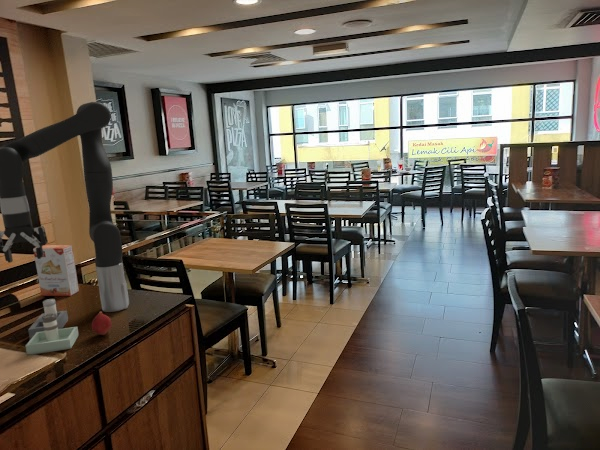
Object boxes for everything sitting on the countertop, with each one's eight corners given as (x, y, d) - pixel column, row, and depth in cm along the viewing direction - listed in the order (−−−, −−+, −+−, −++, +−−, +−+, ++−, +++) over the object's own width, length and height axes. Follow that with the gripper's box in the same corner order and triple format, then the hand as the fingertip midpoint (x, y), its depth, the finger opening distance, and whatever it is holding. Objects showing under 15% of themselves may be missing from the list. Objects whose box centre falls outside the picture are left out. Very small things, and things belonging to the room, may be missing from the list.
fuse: (60, 322, 155) (56, 298, 153) (57, 326, 151) (53, 301, 150) (48, 323, 154) (44, 299, 152) (45, 328, 150) (41, 303, 149)
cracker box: (40, 296, 184) (32, 248, 180) (50, 291, 190) (42, 244, 186) (70, 296, 182) (62, 247, 178) (79, 291, 188) (72, 244, 184)
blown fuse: (61, 339, 139) (57, 312, 137) (58, 344, 136) (53, 317, 134) (48, 341, 138) (44, 314, 136) (45, 346, 135) (40, 319, 133)
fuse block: (68, 319, 157) (66, 310, 156) (57, 335, 143) (55, 325, 143) (43, 323, 155) (41, 313, 154) (29, 339, 142) (28, 329, 141)
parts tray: (78, 335, 143) (77, 326, 143) (70, 348, 134) (69, 339, 133) (38, 340, 140) (36, 332, 140) (27, 355, 131) (25, 345, 130)
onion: (93, 340, 138) (90, 316, 137) (93, 334, 143) (89, 311, 142) (113, 336, 141) (110, 312, 139) (112, 329, 146) (108, 307, 144)
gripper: (43, 207, 145) (52, 254, 148) (-6, 211, 141) (4, 260, 144) (37, 210, 137) (46, 260, 141) (-15, 215, 134) (-5, 266, 137)
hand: (25, 260), depth 142 cm, fingers open, 8 cm apart
